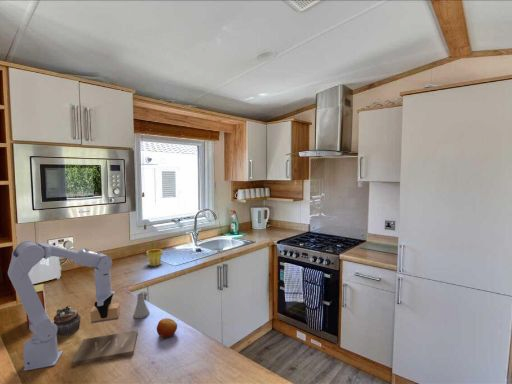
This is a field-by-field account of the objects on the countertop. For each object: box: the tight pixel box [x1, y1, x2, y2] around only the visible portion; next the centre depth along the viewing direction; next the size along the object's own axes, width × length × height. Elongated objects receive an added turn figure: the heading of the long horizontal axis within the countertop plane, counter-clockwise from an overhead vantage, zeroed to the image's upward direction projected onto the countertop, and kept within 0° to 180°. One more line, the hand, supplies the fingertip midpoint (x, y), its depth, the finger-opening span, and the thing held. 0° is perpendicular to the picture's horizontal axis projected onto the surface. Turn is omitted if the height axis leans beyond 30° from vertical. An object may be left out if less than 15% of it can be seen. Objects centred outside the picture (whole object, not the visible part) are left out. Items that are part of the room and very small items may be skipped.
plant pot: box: [146, 248, 163, 267], centre depth 204 cm, size 10×10×10 cm
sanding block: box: [89, 302, 121, 324], centre depth 121 cm, size 10×4×5 cm, turn 106°
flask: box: [133, 292, 150, 319], centre depth 136 cm, size 7×7×10 cm
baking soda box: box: [25, 283, 48, 330], centre depth 131 cm, size 10×6×16 cm
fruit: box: [156, 317, 178, 342], centre depth 119 cm, size 8×8×8 cm
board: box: [71, 329, 139, 367], centre depth 111 cm, size 20×14×2 cm
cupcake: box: [53, 305, 82, 337], centre depth 124 cm, size 10×10×10 cm
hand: (105, 314), depth 121 cm, fingers closed on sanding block, 4 cm apart
